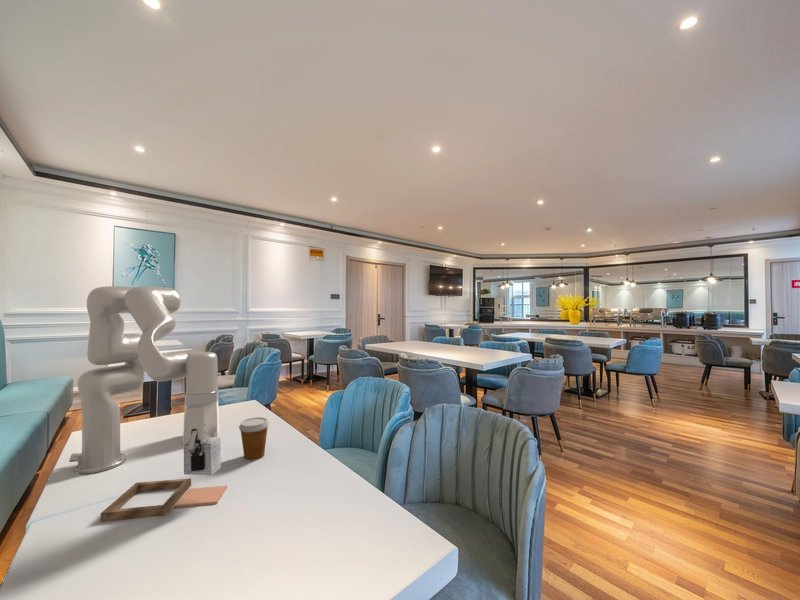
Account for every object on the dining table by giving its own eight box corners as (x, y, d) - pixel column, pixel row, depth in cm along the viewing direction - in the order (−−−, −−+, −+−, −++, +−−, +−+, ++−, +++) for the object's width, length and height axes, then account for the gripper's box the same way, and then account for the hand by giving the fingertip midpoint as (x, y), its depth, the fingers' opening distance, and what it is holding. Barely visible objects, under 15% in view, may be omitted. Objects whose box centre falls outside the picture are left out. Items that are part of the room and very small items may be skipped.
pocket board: (100, 521, 84) (100, 513, 84) (136, 489, 98) (136, 482, 98) (165, 515, 86) (165, 507, 86) (191, 485, 101) (191, 478, 101)
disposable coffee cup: (258, 463, 114) (258, 427, 114) (232, 461, 116) (232, 425, 116) (274, 451, 123) (274, 417, 123) (250, 449, 125) (250, 416, 125)
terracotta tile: (175, 507, 90) (175, 505, 90) (189, 490, 98) (189, 488, 98) (216, 503, 91) (216, 501, 91) (227, 487, 99) (227, 485, 99)
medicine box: (221, 468, 96) (221, 436, 96) (211, 476, 92) (211, 443, 92) (194, 467, 97) (194, 436, 97) (183, 475, 93) (183, 442, 93)
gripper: (200, 390, 103) (200, 452, 102) (171, 408, 86) (172, 482, 85) (227, 389, 104) (227, 450, 104) (204, 406, 87) (204, 479, 87)
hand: (202, 464), depth 94 cm, fingers closed on medicine box, 5 cm apart
